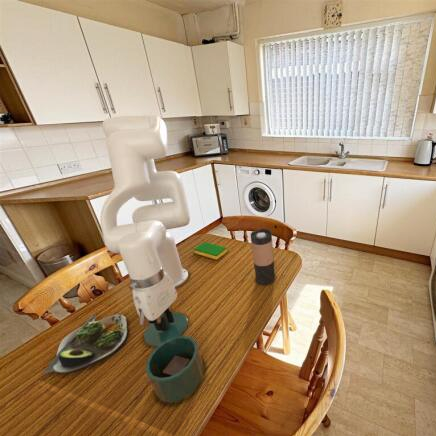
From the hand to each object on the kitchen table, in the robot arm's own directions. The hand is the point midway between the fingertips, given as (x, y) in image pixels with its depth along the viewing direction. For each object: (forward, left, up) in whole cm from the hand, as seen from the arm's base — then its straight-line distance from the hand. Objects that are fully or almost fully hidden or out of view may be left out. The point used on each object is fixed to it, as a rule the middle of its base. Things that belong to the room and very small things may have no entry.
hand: (165, 325), depth 71 cm
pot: (+14, -11, -2) cm, 18 cm away
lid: (0, 0, -2) cm, 2 cm away
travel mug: (+20, +30, -2) cm, 36 cm away
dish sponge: (-12, +41, -2) cm, 43 cm away
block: (+14, -11, -2) cm, 18 cm away
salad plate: (-17, -10, -2) cm, 20 cm away
